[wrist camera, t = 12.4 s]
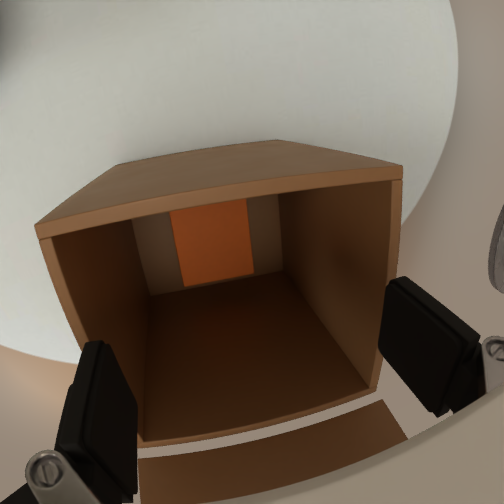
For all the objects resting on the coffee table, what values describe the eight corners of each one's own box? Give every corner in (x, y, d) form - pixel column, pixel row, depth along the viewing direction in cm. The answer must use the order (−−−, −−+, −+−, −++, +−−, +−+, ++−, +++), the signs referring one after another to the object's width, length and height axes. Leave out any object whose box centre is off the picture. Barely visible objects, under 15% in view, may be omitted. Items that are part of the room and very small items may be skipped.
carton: (277, 139, 23) (403, 165, 10) (287, 271, 27) (376, 391, 14) (115, 165, 21) (33, 224, 8) (146, 298, 25) (137, 449, 12)
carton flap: (435, 481, 9) (431, 484, 9) (382, 398, 14) (380, 403, 14) (148, 562, 7) (151, 563, 7) (137, 458, 12) (140, 461, 12)
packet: (164, 173, 22) (163, 179, 19) (234, 161, 22) (243, 166, 20) (182, 269, 25) (184, 287, 22) (245, 257, 25) (254, 273, 23)
